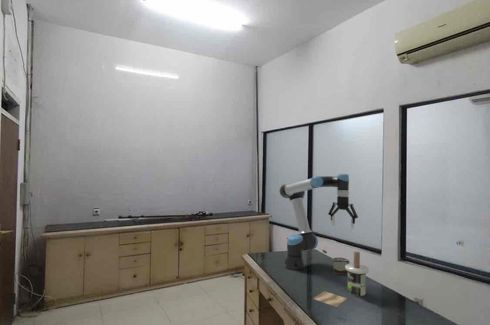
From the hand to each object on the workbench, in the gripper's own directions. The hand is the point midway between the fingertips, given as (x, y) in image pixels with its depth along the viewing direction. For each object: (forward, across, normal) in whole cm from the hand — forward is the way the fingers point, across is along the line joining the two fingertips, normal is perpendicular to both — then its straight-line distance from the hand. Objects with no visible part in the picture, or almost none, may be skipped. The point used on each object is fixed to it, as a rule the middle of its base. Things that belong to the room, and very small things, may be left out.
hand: (342, 226), depth 195 cm
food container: (+35, -5, +8) cm, 36 cm away
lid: (+21, +17, -19) cm, 33 cm away
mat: (+35, +9, -38) cm, 52 cm away
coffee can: (+35, +17, -19) cm, 43 cm away
